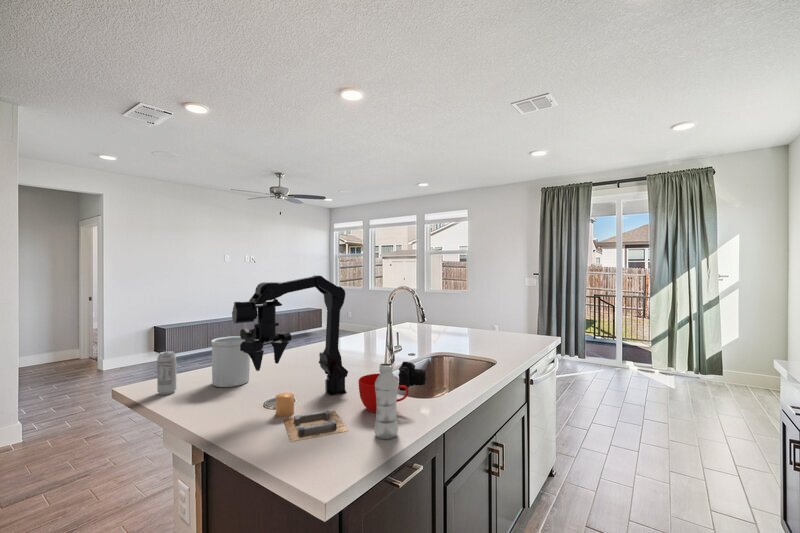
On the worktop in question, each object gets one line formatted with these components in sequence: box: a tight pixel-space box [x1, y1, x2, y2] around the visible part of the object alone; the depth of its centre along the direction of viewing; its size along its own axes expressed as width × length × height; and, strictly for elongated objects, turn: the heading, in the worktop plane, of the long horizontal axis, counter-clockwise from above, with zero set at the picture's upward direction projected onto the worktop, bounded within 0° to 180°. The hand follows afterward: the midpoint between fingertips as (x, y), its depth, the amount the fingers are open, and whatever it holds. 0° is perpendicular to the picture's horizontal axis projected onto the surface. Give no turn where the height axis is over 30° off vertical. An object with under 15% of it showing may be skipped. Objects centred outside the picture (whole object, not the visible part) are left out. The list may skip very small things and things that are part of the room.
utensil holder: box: [210, 335, 251, 388], centre depth 152 cm, size 15×15×18 cm
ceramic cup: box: [358, 373, 409, 414], centre depth 122 cm, size 13×17×10 cm
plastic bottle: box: [373, 362, 399, 440], centre depth 103 cm, size 6×7×20 cm
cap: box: [275, 392, 295, 418], centre depth 119 cm, size 6×6×6 cm
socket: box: [283, 410, 349, 443], centre depth 110 cm, size 16×16×2 cm
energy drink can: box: [156, 350, 177, 396], centre depth 139 cm, size 6×6×15 cm
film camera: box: [398, 360, 427, 392], centre depth 147 cm, size 15×10×9 cm, turn 168°
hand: (267, 366), depth 124 cm, fingers open, 9 cm apart
